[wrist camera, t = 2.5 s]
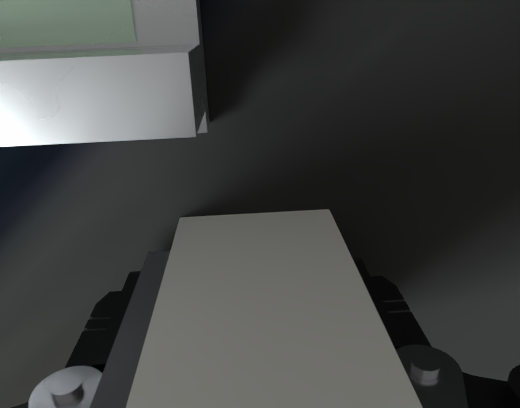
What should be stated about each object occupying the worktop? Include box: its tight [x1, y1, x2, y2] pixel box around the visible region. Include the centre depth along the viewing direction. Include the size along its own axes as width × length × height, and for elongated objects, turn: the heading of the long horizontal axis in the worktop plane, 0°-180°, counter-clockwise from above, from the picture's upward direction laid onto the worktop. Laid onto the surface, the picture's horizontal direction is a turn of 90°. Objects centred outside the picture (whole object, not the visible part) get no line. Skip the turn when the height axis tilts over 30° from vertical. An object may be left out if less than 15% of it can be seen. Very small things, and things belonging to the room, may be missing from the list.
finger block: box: [90, 209, 423, 408], centre depth 10 cm, size 5×4×7 cm
